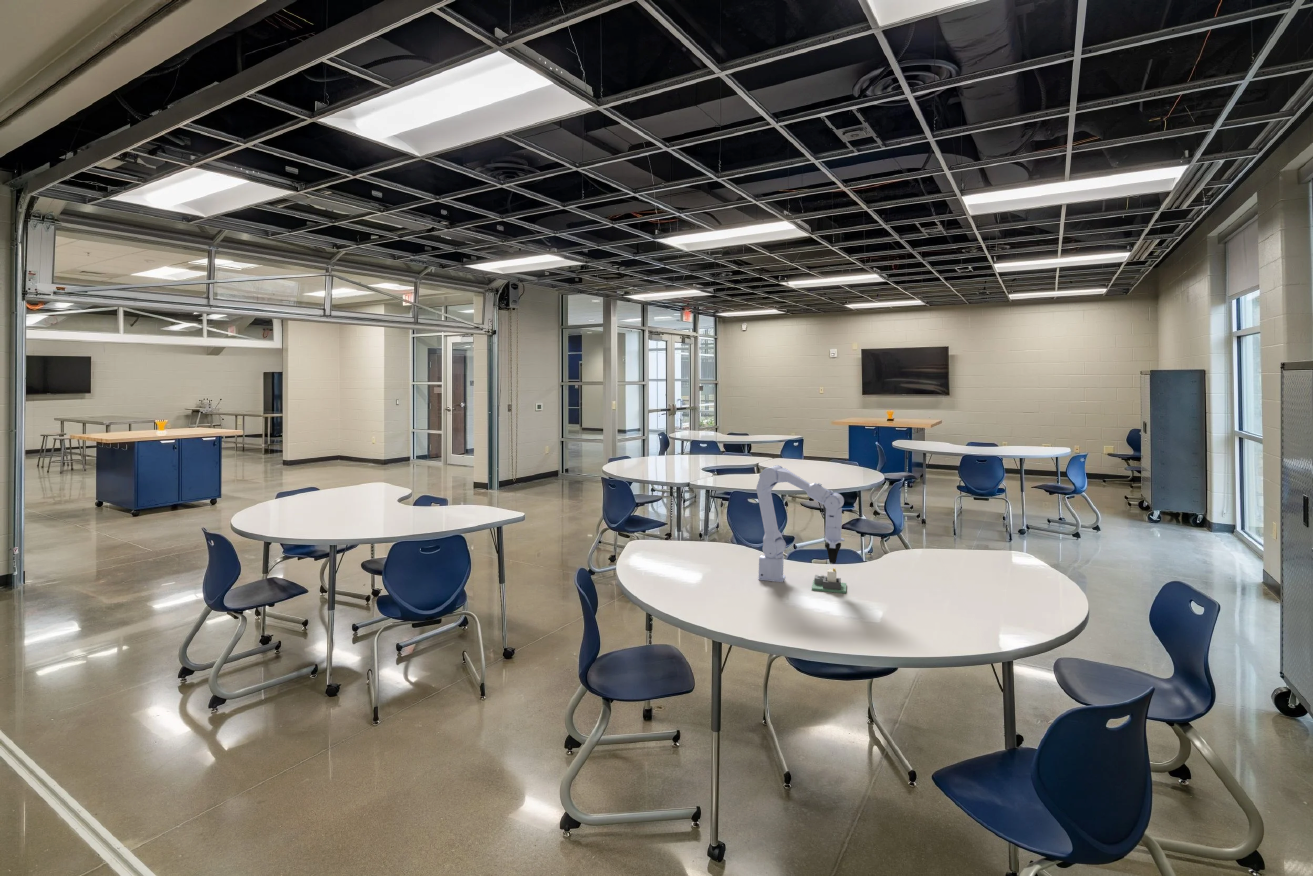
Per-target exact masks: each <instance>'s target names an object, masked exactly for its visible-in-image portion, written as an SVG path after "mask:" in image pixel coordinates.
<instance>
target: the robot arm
mask: <svg viewBox="0 0 1313 876" xmlns="http://www.w3.org/2000/svg"><path fill="white" fill-rule="evenodd" d="M758 475H759V478H758V480H757V481H758V482H757V485H756V494H757V498H758V499H757V500H758V504H759V509H760V515H761V520H762V524H763V526H762V527H763V531H764V535H763V538H762V543H763V544H762V548H761V549H762V553H763V554H764V555H763V554H760V556H759V559H758V578H757V580H759V581H766V582H775V583H776V582H777V583H783V582H784V581H785V578H786V575H785V574H784V556H785V555H784V552H785V550H786V548H787V543H786V541H785V540H784V538H783V534H782V532H781V531H780V530H779V527H778V522H777V521H778V520H777V516H776V511H775V506H774V501H773V494H772V490H773V489H774V487H775V486H776V485H777V484H778V483H789V484H790V485H791V486H795V487H797V488H798V489H800V490H802V491H805V492H806V495H807V497H809V498H810V499H812V500H814V501H816V502H818V503H820V504H821V505H823V506H824V508H825V527H824V528H825V531H824V532H825V533H824V535H825V536H824V540H825V543H824V547H825V549H826V552H827V556H828V562H829V564H836V563H837V559H838V554H839V551H840V549H841V548H842V547H841V546H842V543H841V542H845V538H844V537H842V531H843V530H842V527H843V526H842V525H843V524H842V523H843V521H842V520H843V514H842V513H843V508H842V507H843V506H844V503H845V498H844V496H843V495H842V494H841V493H839V492H834V491H833V490H832V489H828V488H826V487H824V486H822V485H823V484H821V483H820V482H818V483H817V482H813V483H810V482H808V481H807V480H805V479H803V478H801V477H800V476H799V475H797V474H795V473H794V472H792V471H791V470H789V469H788V468H786V467H783V466H782V465H779V464H776V465H773V466H770V467H766V468H764V469H763V470H761V472H760V473H759V474H758Z"/></svg>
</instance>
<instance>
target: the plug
mask: <svg viewBox="0 0 1313 876" xmlns="http://www.w3.org/2000/svg"><path fill="white" fill-rule="evenodd" d="M826 572H827V573H826V574H827V575H826V576H827V581H828V582H836V578H837V573H838V570H837V569H836V567H835V568H832V569H831V568H830V569H828V568H827V571H826Z"/></svg>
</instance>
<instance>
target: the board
mask: <svg viewBox="0 0 1313 876" xmlns="http://www.w3.org/2000/svg"><path fill="white" fill-rule="evenodd" d="M811 591H814V592H815V591H817V592H825V593H827V592H829V593H837V594H844V595H845V594H847V582H842V578H841V577H836V582H828V581H827V575H824V574H815V575H814V579H813V581H812V586H811Z"/></svg>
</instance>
